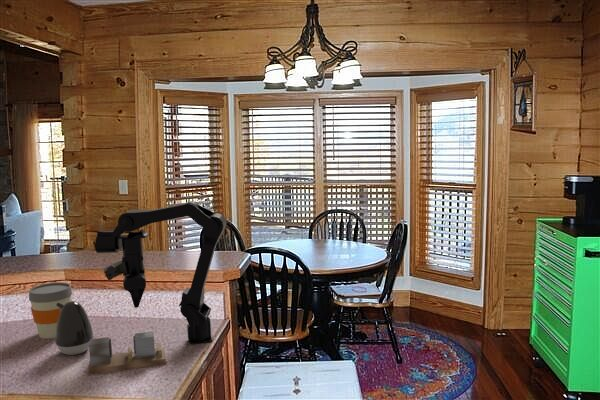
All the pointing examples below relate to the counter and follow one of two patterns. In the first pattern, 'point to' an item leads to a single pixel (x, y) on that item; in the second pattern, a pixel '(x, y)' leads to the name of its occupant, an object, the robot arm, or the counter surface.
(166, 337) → the counter surface
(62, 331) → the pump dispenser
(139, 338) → the block
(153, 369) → the counter surface
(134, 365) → the rail
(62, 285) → the reusable coffee cup
